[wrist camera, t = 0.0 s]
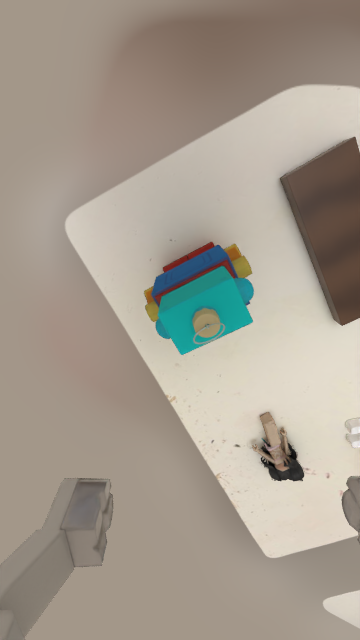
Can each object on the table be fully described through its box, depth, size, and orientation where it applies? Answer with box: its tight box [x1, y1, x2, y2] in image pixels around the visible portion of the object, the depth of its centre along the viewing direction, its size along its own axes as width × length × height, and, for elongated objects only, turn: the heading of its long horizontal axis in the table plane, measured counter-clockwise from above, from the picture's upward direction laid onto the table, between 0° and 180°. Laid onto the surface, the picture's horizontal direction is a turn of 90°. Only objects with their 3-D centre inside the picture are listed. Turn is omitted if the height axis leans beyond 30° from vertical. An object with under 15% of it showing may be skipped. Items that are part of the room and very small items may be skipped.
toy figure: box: [252, 412, 304, 481], centre depth 54 cm, size 7×6×15 cm
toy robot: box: [144, 242, 254, 355], centre depth 32 cm, size 12×6×25 cm, turn 118°
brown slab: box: [280, 137, 360, 326], centre depth 41 cm, size 24×9×2 cm, turn 29°
